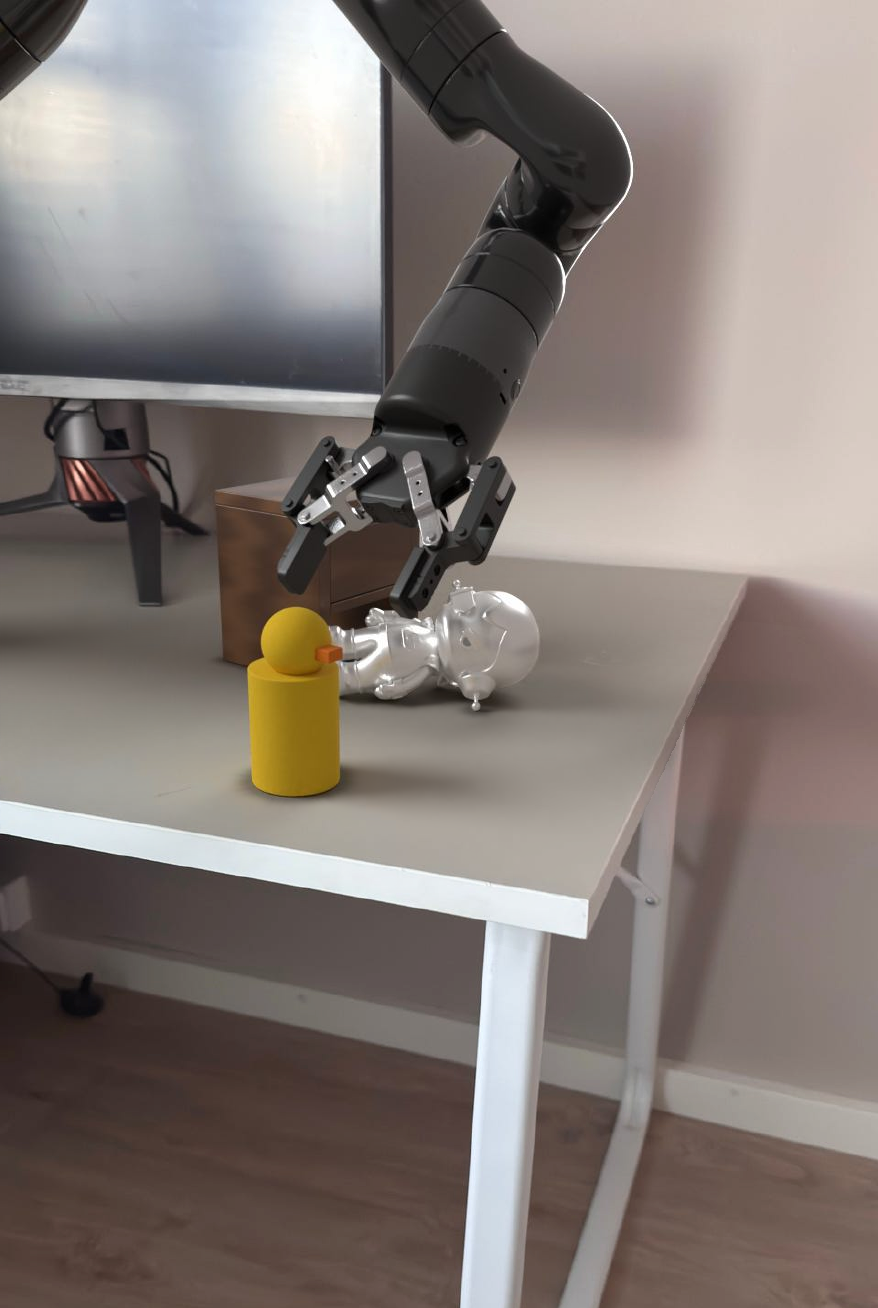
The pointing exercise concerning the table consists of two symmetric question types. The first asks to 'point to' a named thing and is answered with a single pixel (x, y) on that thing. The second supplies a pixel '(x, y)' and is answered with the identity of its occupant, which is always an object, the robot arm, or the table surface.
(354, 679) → the figurine
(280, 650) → the duck
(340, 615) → the wooden box
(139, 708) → the table surface
